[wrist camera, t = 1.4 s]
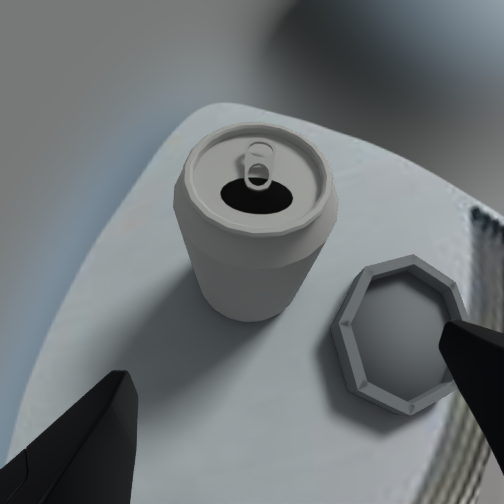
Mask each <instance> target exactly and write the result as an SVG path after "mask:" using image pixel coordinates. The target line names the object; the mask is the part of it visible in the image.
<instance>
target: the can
mask: <svg viewBox="0 0 504 504" xmlns="http://www.w3.org/2000/svg"><path fill="white" fill-rule="evenodd" d="M333 179H334V178H333V175H332V172H331V169H330V165H329V162H328V160H327V159H326V158H325V156H324V155H323V154H322V152H321V151H320V150H319V148H318V147H317V146H316V145H315V144H313V143H312V142H311V141H309V140H308V139H307V138H305V137H304V136H303V135H301V134H299V133H297V132H295V131H293V130H290V129H288V128H286V127H283V126H279V125H274V124H269V123H264V122H250V123H239V124H235V125H231V126H227V127H223V128H221V129H219V130H217V131H215V132H213V133H211V134H209V135H207V136H205V137H204V138H203V139H202V140H201V141H200V142H199V143H198V144H197V145H196V146H195V147H194V148H193V149H192V150H191V152H190V154H189V156H188V158H187V160H186V162H185V164H184V166H183V170H182V172H181V174H180V176H179V178H178V180H177V182H176V184H175V188H174V202H173V208H174V211H175V214H176V218H177V221H178V224H179V227H180V230H181V233H182V236H183V239H184V242H185V245H186V248H187V251H188V254H189V257H190V260H191V263H192V266H193V269H194V272H195V275H196V277H197V280H198V283H199V286H200V288H201V291H202V294H203V296H204V298H205V299H206V300H207V301H208V303H209V304H210V305H211V306H212V307H213V309H214V310H216V311H218V312H219V313H221V314H223V315H224V316H226V317H227V318H230V319H234V320H238V321H242V322H255V321H263V320H266V319H268V318H271V317H273V316H276V315H278V314H279V313H280V312H282V311H283V310H284V309H285V308H286V307H287V306H288V305H290V304H291V302H292V300H293V298H294V297H295V295H296V293H297V292H298V290H299V288H300V286H301V285H302V283H303V281H304V279H305V278H306V276H307V274H308V272H309V271H310V269H311V267H312V265H313V264H314V262H315V260H316V258H317V256H318V255H319V253H320V251H321V249H322V247H323V246H324V244H325V242H326V240H327V238H328V236H329V234H330V232H331V231H332V229H333V227H334V225H335V223H336V221H337V211H338V196H337V193H336V190H335V186H334V183H333Z"/></svg>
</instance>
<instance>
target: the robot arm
mask: <svg viewBox="0 0 504 504" xmlns="http://www.w3.org/2000/svg"><path fill="white" fill-rule="evenodd" d="M438 347H439V351H440V353H441V355H442V357H443V359H444V361H445V363H446V365H447V367H448V369H449V371H450V373H451V375H452V377H453V379H454V382H455V384H456V386H457V387H458V389H459V391H460V393H461V395H462V396H463V398H464V400H465V401H466V403H467V405H468V407H469V408H470V410H471V412H472V414H473V415H474V417H475V419H476V421H477V423H478V425H479V426H480V428H481V430H482V432H483V434H484V436H485V438H486V440H487V442H488V444H489V446H490V448H491V450H492V452H493V454H494V456H495V458H496V460H497V462H498V464H499V466H500V468H501V471H502V473H503V475H504V334H503V333H500V332H497V331H494V330H491V329H488V328H484V327H481V326H478V325H475V324H472V323H469V322H466V321H462V320H459V319H453V320H450V321H447V322H446V323H445V325H444V327H443V331H442V334H441V337H440V340H439V345H438ZM137 416H138V394H137V391H136V389H135V386H134V384H133V381H132V379H131V376H130V374H129V373H128V371H126V370H113V371H111V372H110V373H109V374H107V375H106V376H105V377H104V378H103V379H102V380H101V381H100V382H98V383H97V384H96V385H95V386H94V387H93V388H92V389H91V390H90V391H88V392H87V393H86V394H85V395H84V396H83V397H82V398H81V399H79V400H78V401H77V402H76V403H75V404H74V405H73V406H72V407H70V408H69V409H68V410H67V411H66V412H65V413H64V414H63V415H62V416H60V417H59V418H58V419H57V420H56V421H55V422H54V423H53V424H51V425H50V426H49V427H48V428H47V429H46V430H45V431H44V432H43V433H41V434H40V435H39V436H38V437H37V438H36V439H35V440H34V441H33V442H31V443H30V444H29V445H28V446H27V447H26V449H23V450H22V451H21V452H20V453H19V454H18V455H17V456H16V457H15V458H13V459H12V460H11V461H10V462H9V463H8V464H6V465H5V466H4V467H3V468H2V469H0V504H130V499H131V489H132V481H133V472H134V465H135V457H136V446H137Z"/></svg>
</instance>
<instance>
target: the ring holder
mask: <svg viewBox="0 0 504 504" xmlns="http://www.w3.org/2000/svg"><path fill="white" fill-rule="evenodd" d="M453 319H459V320H462V321H466V322H469V319H468V316H467V312H466V310H465V307H464V304H463V301H462V298H461V295H460V293H459V290H458V287H457V285H456V282H454V281H453V280H452V279H450V278H449V277H447V276H446V275H444V274H443V273H441V272H440V271H438V270H437V269H435V268H434V267H432V266H431V265H429V264H428V263H426V262H425V261H423V260H421V259H420V258H418V257H417V256H415V255H414V254H413V255H409V256H405V257H401V258H398V259H394V260H390V261H386V262H382V263H378V264H374V265H370V266H367V267H365V268H364V269H363V270H362V271H361V272H360V273H359V274H358V275H357V276H356V278H355V280H354V282H353V284H352V286H351V288H350V290H349V292H348V294H347V296H346V299H345V301H344V303H343V305H342V307H341V309H340V311H339V313H338V315H337V317H336V319H335V320H334V322H333V324H332V326H331V328H330V330H331V333H332V337H333V340H334V344H335V347H336V351H337V354H338V358H339V361H340V365H341V368H342V372H343V375H344V379H345V383H346V387H347V390H348V391H350V392H352V393H354V394H356V395H358V396H360V397H362V398H364V399H366V400H368V401H370V402H372V403H374V404H376V405H378V406H380V407H382V408H384V409H386V410H388V411H390V412H392V413H395V414H397V415H408V416H411V415H413V414H415V413H416V412H418V411H420V410H422V409H424V408H426V407H428V406H429V405H431V404H433V403H435V402H436V401H438V400H440V399H441V398H443V397H445V396H446V395H448V394H450V393H451V392H453V391H454V390H456V389H457V388H458V387H457V386H456V384H455V382H454V379H453V377H452V375H451V373H450V371H449V369H448V367H447V365H446V363H445V361H444V359H443V357H442V355H441V353H440V351H439V347H438V345H439V340H440V337H441V334H442V331H443V327H444V325H445V323H446V322H447V321H450V320H453ZM469 323H470V322H469Z"/></svg>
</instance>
